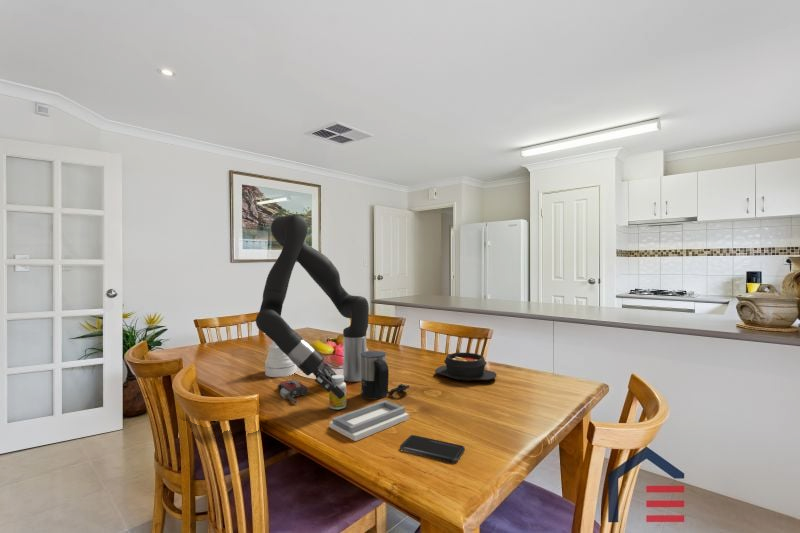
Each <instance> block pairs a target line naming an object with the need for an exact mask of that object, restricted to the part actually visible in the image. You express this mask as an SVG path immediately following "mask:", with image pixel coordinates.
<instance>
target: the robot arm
mask: <svg viewBox="0 0 800 533" xmlns="http://www.w3.org/2000/svg"><path fill="white" fill-rule="evenodd" d="M270 231H271V234H272V236H273V238H274V239H275V241H276V242H277V243H279V245H280V246H281V247H282V249H281V252H280V254H279V256H278V258H277V259H276V261H275V262H274V264H273V265H272V267H271V268H270V270H269V272H268V274H267V277H266V281H265V285H264V288H263V293H262V302H261V304H260V308H259V312H258V314H257V315H256V317H255V325H256V327H257V329H258V330H259V331H260V332H262V333H263V334H265V336H267V337H268V338H269V339H271V340H272V342H273V341H274V342H275V343H276V345H277V346H278V347H279V348H280V349H281V350H282V351H283V352H284V353H285V354H286V355H287V356H288V357H289V358H290V360H291V361H292V362H293V363H294V364H295V365H296V366H297V369H299V370H300V371H301V372H302V373H303V374H305V375H306V376H310V375H311V374H313V375H314V377H315V380H314V381H315V382H316V384H317V385H319V386H320V387H321V388H322V389H323V390H325V391H326V392H327V393H329V392H331V391H332V392H333V393H334V394H335V395H336V396H337V397H338V398H339V399H341V398H342V397H343V396H344V395H345V393H344V392H343V391H342V390H341V389H340V388H339V387H338V386H337V385H336V384H335V383H334V382H333V378H332V376H333V375H338V374H337V373H336V372H335V371H334V370H333V369H332V368H331V367H330V366H329V364H328V363H324V364H323V362H324V358H325V357H324V356H323V355H321V353H320V352H319V351H317V349H315V347H314V346H312V344H311V343H309V342H308V341H307V340H305V339H304V338H303V337H302V336H301V335H300V334H299V333H298V332H297V331H295V330H294V329H293V328H291V326H290V325H289V324H288V322H286V321H285V320H284V318H283V317H282V315H281V314H282V311H283V304H284V302H285V299H286V296H287V291H288V289H289V283H290V280H291V276H292V273H293V270H294V267H295V265H296V263H297V262H298V264H300V266H301V267H302V268H303V269H304V270H305V272H306V273H307V274H308V276H310V277H311V279H312V280H313V281H314V283H316V284H317V286H319V288H320V289H321V290H322V291H323V292H324V293H325V295H326V296H327V297H328V298H329V300H331V302H332V304H333V305H334V307H335V308H336V309H337V312H339V314H340V315H341V316H343V317H344V318H346V319H350V325H349V326H347V327H345V328H344V329H343V330H342V340H343V342H342V346H343V347H342V351H343V353H342V354H343V355H342V356H343V359H342V361H343V364H342V365H343V367H342V368H343V370H342V371H343V374H342V375H343V376H344V381H346V382H362V379H361V378H362V377H361V355H360V354H361V353H362V352H366V351H367V330H368V327H369V317H370V316H369V314H370V313H369V312H370V311H369V310H370V308H369V307H370V306H369V302H368V300H367V298H366V297H365V296H361V295H351V294H349V292H347V290H345V289H344V287H343V286H342V284H341V278H340V273H339V272H340V271H339V270H338V269H337V267H336V266H335V264H333V262H332V261H331V260H330V259H329V257H328V256H326V255H325V254H324V253H322V252H320V251H318V250H317V249H315V248H314V247H312V246H311V245H309V244H308V243H307V242H306V241H305V240H306V237H307V235H308V222H307V221H306V219H305V218H304V217H303V216H302V215H299V214H289V215H284V216H281V217H280V216H279V217H277V218H275V219H274V220H273V221H272V222H271V225H270ZM329 385H330V386H329Z"/></svg>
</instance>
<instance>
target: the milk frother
mask: <svg viewBox="0 0 800 533" xmlns="http://www.w3.org/2000/svg"><path fill="white" fill-rule="evenodd" d="M360 355H361V377H362V378H361V379H362V381H361V388H360V389H361V392H360V396H361V398H364V399H369V400H378V399H382V398H385V397H386V396H387V395H388V394H389V395H390V394H391V393H392V394H393V393H396V392H397V393H398V392H400V393H402V392H404V391H406V390H407V389H410V385H409V384H408V385H405V384H402V383H401V384H398V386H397V387H394V388H392V389H390V391H389V376H390V375H389V372H390V370H389V366H388V364H387V362H386V361H387V359H386V355H387V352H386V351H382V350H368V351H367V350H366V352H362V353H361V354H360Z"/></svg>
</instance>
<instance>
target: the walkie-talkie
mask: <svg viewBox="0 0 800 533" xmlns="http://www.w3.org/2000/svg"><path fill="white" fill-rule="evenodd" d="M277 389H279V390H280V396H281V397H282V398H283V400H284V399H285V398H286V399H288V400H289V401H291V402H292V403H295V404H297V402H298V401H297V399H296V397H295V396H297V397H300V396H299V395H301V396H305V395H308V394H307V393H308V392H309V391H308V387H307V386H306V385H305V384H303V383H301V381H298V380H297V379H287V380H283V381H282V380H281V382H280V383H279V384H277ZM293 397H294V398H293Z"/></svg>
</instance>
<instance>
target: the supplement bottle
mask: <svg viewBox="0 0 800 533" xmlns="http://www.w3.org/2000/svg"><path fill="white" fill-rule="evenodd" d="M332 378H333V382H334V383H335V384H336V385H337V386H338V387H339V388H340V389H341V390H342V391H343V392H344V393H345V395H344V396H343V397H342V398H341V399H339V398H338V397H337V396H336V395H335V394H334V393H333V392H332V391H331V392H328V393H329V394H328V396H329V397H328V398H329V400H328V401H329V402H328V403H329V404H328V406H329V408H330V409H332V410H342V409H344V408H346V407H347V383H346V382H345V380H344V376H343V374H337V375H333V376H332ZM329 386H330V385H329Z"/></svg>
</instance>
